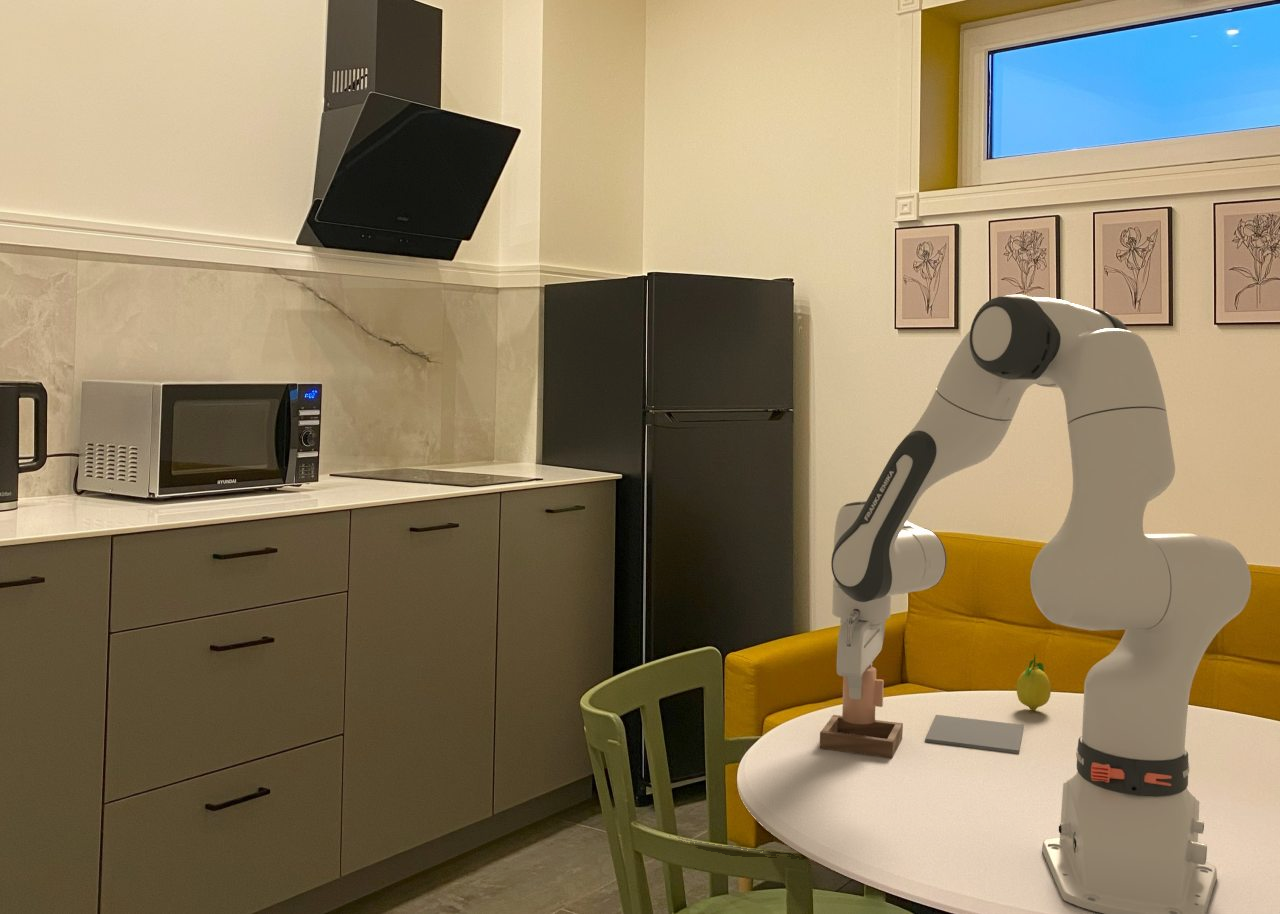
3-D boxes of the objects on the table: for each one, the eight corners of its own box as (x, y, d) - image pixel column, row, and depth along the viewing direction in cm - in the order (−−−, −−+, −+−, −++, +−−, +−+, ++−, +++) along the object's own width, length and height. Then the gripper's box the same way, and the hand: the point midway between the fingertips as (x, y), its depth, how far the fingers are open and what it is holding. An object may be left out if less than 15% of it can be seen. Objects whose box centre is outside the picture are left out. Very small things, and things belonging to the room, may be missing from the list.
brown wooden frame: (892, 758, 170) (892, 741, 170) (819, 748, 174) (820, 732, 174) (902, 738, 180) (902, 723, 180) (833, 730, 184) (833, 714, 183)
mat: (1018, 753, 173) (1019, 750, 173) (924, 741, 178) (925, 738, 178) (1023, 727, 186) (1023, 724, 186) (935, 717, 191) (935, 714, 191)
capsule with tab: (879, 726, 173) (880, 674, 173) (839, 721, 175) (840, 670, 175) (884, 717, 178) (885, 667, 177) (845, 713, 180) (846, 663, 179)
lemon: (1025, 717, 193) (1027, 658, 192) (1006, 707, 198) (1008, 650, 198) (1060, 714, 194) (1062, 656, 194) (1040, 705, 200) (1042, 648, 199)
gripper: (870, 618, 165) (868, 712, 166) (892, 595, 184) (890, 680, 185) (827, 614, 167) (825, 707, 168) (853, 592, 186) (851, 676, 187)
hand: (859, 693), depth 176 cm, fingers closed on capsule with tab, 5 cm apart
